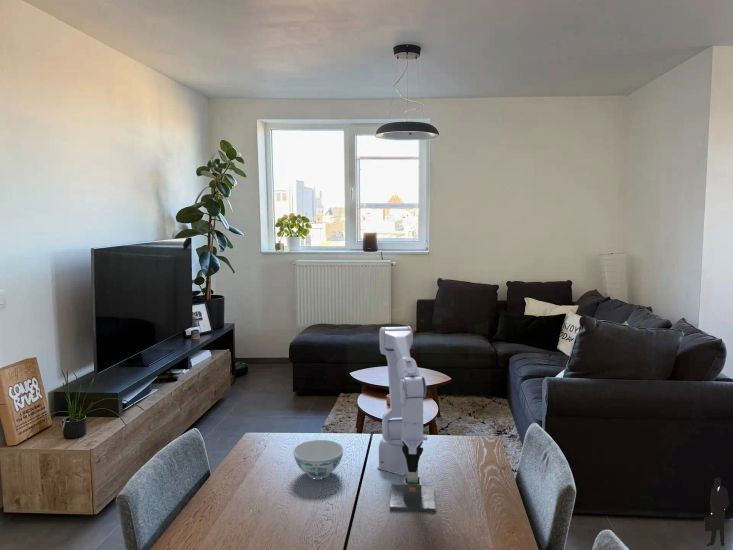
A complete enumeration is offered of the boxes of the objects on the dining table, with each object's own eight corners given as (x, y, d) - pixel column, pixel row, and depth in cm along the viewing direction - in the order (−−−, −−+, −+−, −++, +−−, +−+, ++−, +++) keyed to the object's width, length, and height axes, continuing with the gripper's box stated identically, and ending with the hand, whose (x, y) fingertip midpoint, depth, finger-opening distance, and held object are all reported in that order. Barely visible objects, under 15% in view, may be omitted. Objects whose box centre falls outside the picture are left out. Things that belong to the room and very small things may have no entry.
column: (406, 488, 143) (406, 460, 143) (407, 482, 146) (407, 455, 146) (418, 488, 143) (418, 460, 142) (417, 483, 146) (418, 456, 145)
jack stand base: (389, 510, 140) (389, 490, 139) (391, 488, 152) (391, 469, 151) (435, 512, 139) (435, 492, 138) (433, 489, 150) (433, 471, 150)
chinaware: (284, 481, 156) (284, 455, 155) (308, 460, 170) (308, 437, 169) (330, 490, 151) (329, 464, 150) (351, 467, 164) (351, 444, 164)
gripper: (428, 431, 135) (428, 481, 137) (426, 411, 150) (426, 457, 151) (400, 430, 136) (400, 480, 137) (401, 410, 150) (401, 456, 152)
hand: (412, 468), depth 144 cm, fingers closed on column, 3 cm apart
